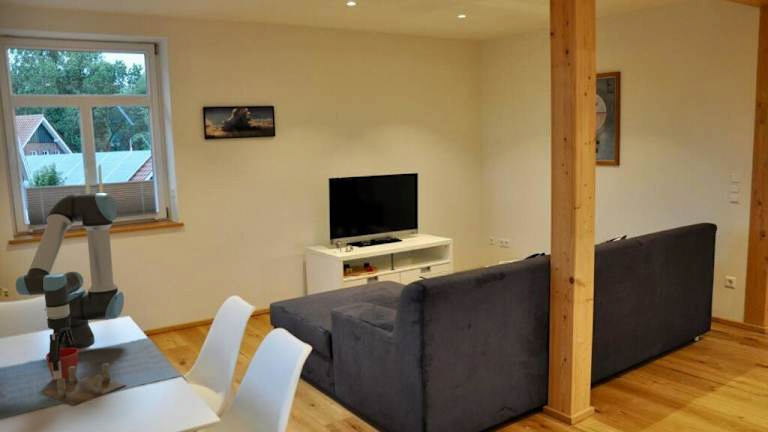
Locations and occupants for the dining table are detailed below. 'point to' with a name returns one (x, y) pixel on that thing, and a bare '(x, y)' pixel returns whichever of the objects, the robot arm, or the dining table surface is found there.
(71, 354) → the flower pot
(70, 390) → the plant stand
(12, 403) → the dining table surface
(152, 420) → the dining table surface
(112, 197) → the robot arm
